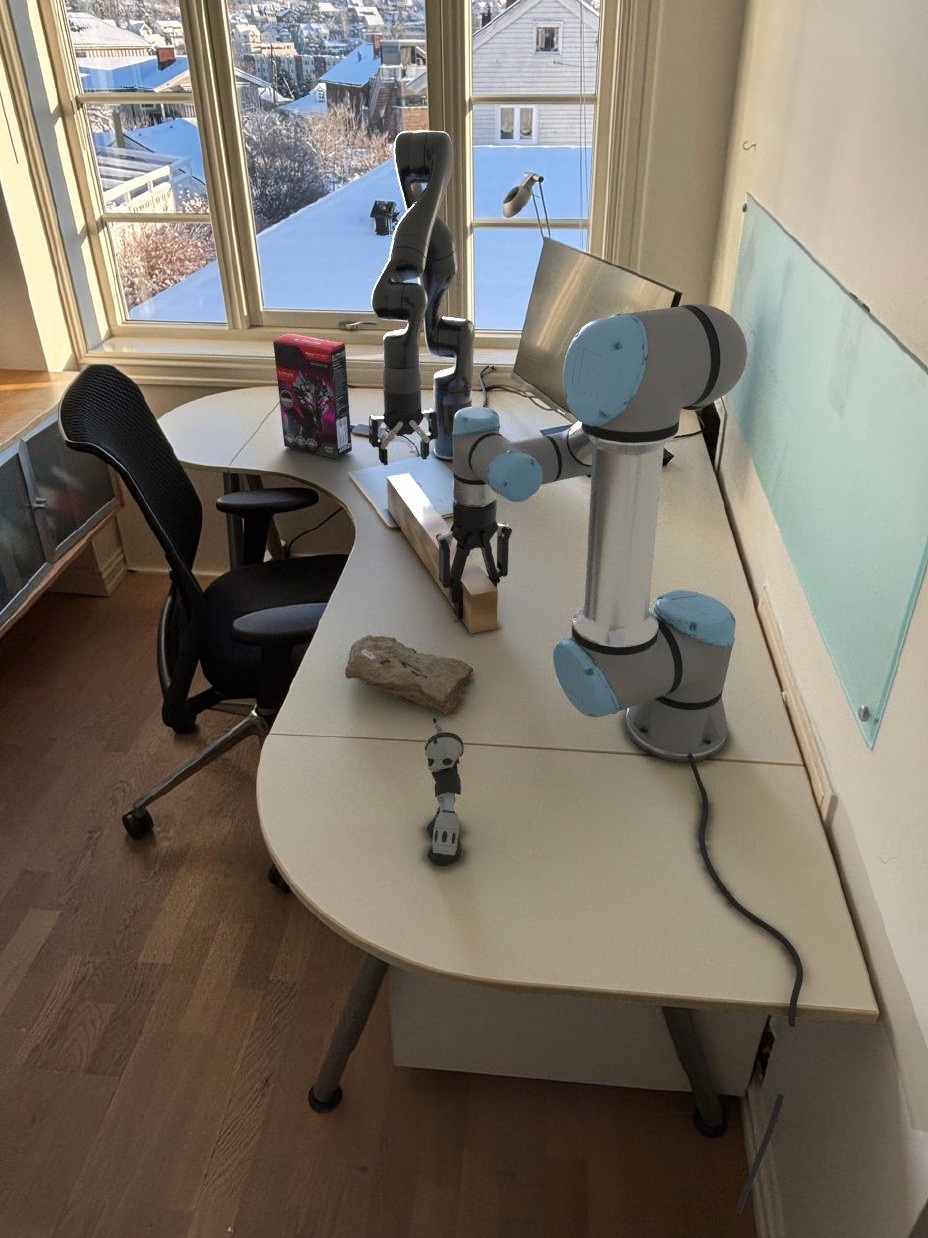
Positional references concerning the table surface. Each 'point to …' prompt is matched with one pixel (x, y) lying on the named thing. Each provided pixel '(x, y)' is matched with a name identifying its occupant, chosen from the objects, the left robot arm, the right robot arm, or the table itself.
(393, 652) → the stone
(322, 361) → the graphics card box
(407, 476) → the bar
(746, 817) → the table surface
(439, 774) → the robot
